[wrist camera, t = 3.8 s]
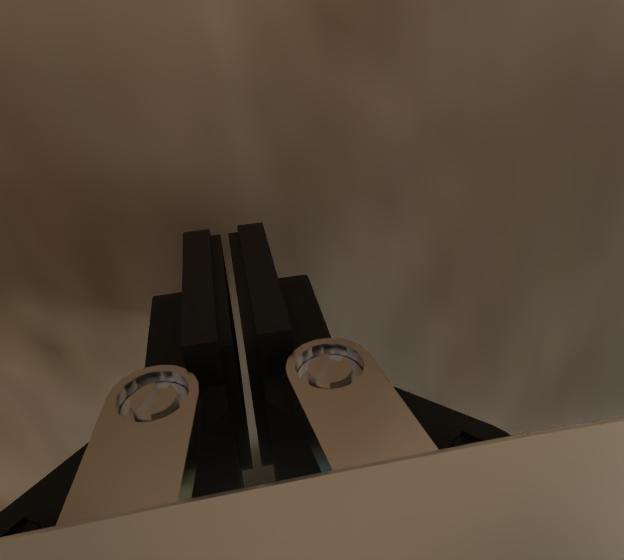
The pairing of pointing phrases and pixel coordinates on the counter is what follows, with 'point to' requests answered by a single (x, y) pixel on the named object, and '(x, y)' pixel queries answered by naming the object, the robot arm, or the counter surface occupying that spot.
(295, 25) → the counter surface
